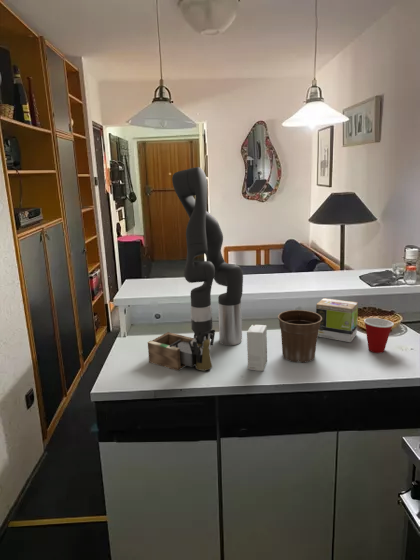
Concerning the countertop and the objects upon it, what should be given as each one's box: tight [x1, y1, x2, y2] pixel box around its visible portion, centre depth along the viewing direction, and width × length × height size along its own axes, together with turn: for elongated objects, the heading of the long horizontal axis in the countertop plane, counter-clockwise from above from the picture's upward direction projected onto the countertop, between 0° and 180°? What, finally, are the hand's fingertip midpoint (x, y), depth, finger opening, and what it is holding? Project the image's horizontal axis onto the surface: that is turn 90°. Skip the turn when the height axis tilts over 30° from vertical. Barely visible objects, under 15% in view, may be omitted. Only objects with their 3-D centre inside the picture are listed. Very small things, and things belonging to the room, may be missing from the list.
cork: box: [195, 339, 213, 371], centre depth 155 cm, size 6×6×11 cm
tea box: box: [315, 297, 359, 343], centre depth 180 cm, size 15×10×15 cm, turn 58°
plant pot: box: [277, 309, 322, 364], centre depth 162 cm, size 16×16×16 cm
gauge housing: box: [147, 331, 194, 371], centre depth 163 cm, size 14×12×8 cm
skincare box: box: [246, 324, 268, 372], centre depth 156 cm, size 8×6×15 cm
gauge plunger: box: [170, 340, 196, 368], centre depth 158 cm, size 10×10×8 cm
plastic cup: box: [363, 317, 394, 354], centre depth 166 cm, size 11×11×12 cm
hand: (203, 360), depth 156 cm, fingers closed on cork, 4 cm apart
